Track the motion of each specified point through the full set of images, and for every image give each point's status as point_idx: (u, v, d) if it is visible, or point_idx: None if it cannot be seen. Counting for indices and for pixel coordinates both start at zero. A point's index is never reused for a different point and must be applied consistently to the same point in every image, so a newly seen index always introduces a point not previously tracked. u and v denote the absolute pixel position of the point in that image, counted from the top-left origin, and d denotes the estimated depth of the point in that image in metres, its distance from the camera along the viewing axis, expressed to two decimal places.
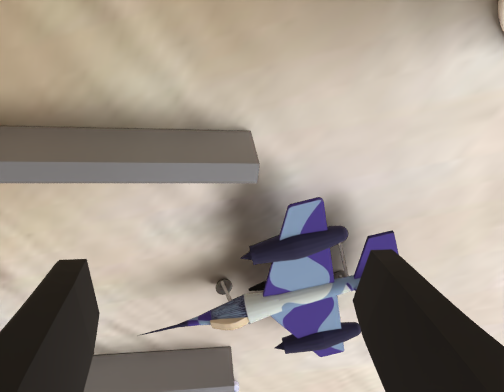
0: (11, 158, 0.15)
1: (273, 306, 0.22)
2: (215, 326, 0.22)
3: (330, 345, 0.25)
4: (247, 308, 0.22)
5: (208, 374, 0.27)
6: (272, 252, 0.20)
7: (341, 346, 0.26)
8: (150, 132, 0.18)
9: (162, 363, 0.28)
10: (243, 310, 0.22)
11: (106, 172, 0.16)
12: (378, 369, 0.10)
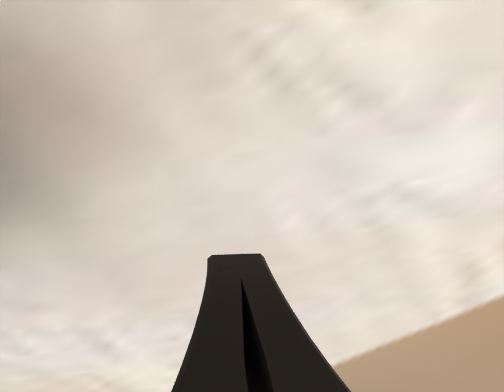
0: None
1: None
2: None
3: None
4: None
5: None
6: None
7: None
8: None
9: None
10: None
11: None
12: None
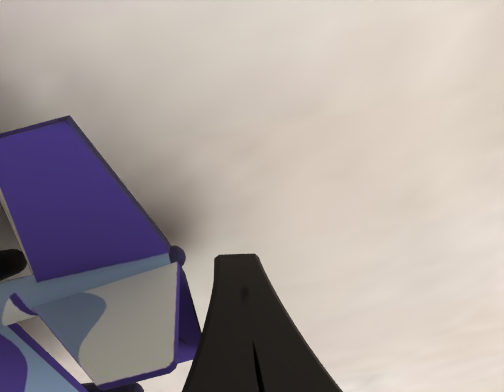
0: None
1: None
2: None
3: None
4: None
5: None
6: None
7: None
8: None
9: None
10: None
11: None
12: None
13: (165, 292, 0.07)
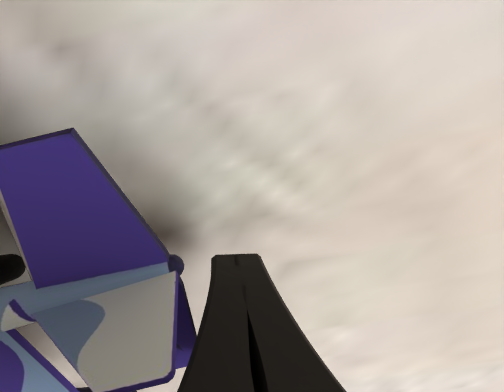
0: None
1: None
2: None
3: None
4: None
5: None
6: None
7: None
8: None
9: None
10: None
11: None
12: None
13: (163, 301, 0.07)
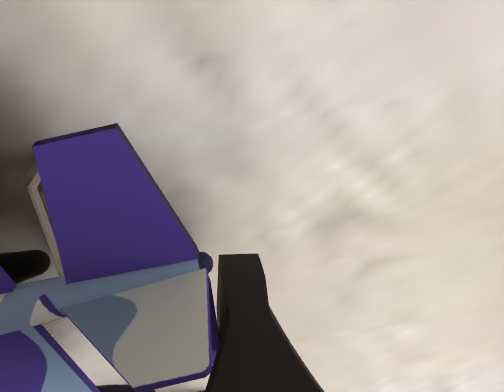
0: None
1: None
2: None
3: None
4: None
5: None
6: None
7: None
8: None
9: None
10: None
11: None
12: None
13: (196, 297, 0.07)
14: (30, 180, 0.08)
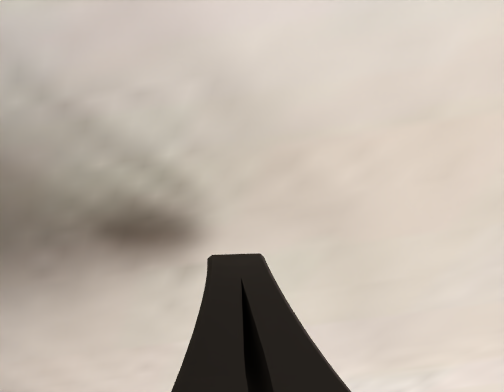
0: None
1: None
2: None
3: None
4: None
5: None
6: None
7: None
8: None
9: None
10: None
11: None
12: None
13: None
14: None
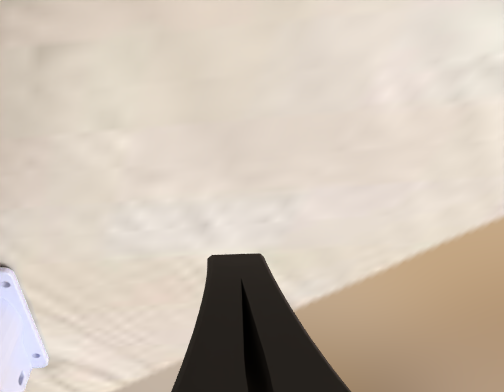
0: None
1: None
2: None
3: None
4: None
5: None
6: None
7: None
8: None
9: None
10: None
11: None
12: None
13: None
14: None
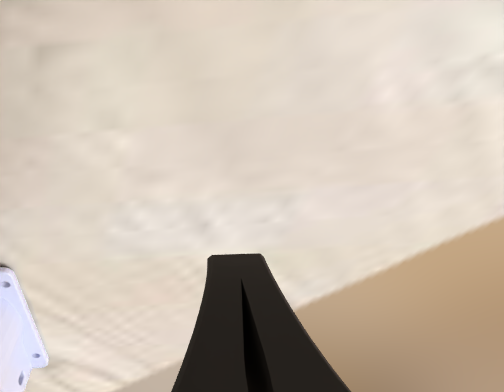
0: None
1: None
2: None
3: None
4: None
5: None
6: None
7: None
8: None
9: None
10: None
11: None
12: None
13: None
14: None
